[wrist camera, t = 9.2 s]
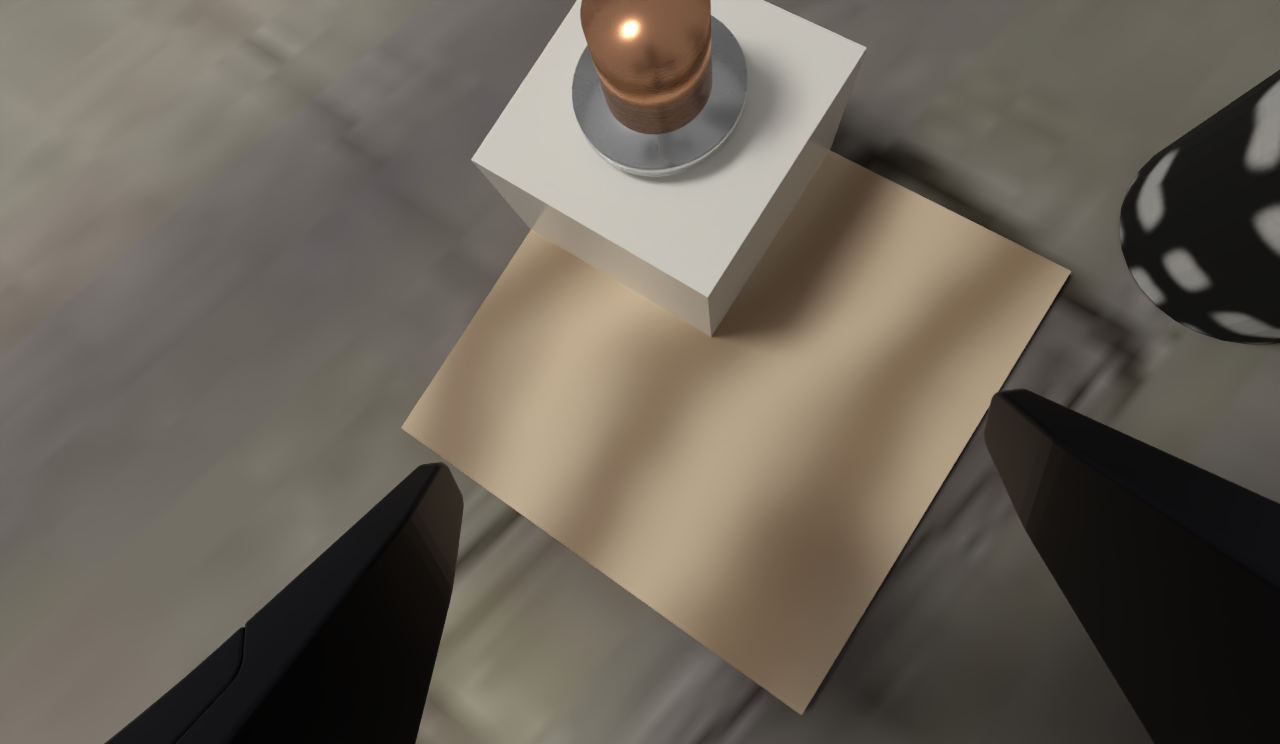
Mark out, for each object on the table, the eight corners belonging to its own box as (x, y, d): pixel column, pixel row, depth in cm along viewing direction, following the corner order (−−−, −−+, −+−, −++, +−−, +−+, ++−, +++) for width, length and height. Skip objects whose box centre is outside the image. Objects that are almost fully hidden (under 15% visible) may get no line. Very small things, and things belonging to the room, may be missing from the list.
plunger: (765, 155, 23) (795, -40, 14) (695, 266, 22) (677, 142, 13) (654, 98, 24) (613, -119, 15) (585, 203, 23) (501, 49, 14)
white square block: (829, 150, 23) (866, 47, 17) (711, 337, 23) (707, 297, 17) (644, 57, 25) (620, -66, 19) (530, 229, 25) (470, 159, 19)
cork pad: (1063, 275, 22) (1071, 271, 21) (799, 709, 21) (801, 715, 21) (645, 64, 25) (644, 57, 25) (407, 428, 25) (401, 427, 24)
